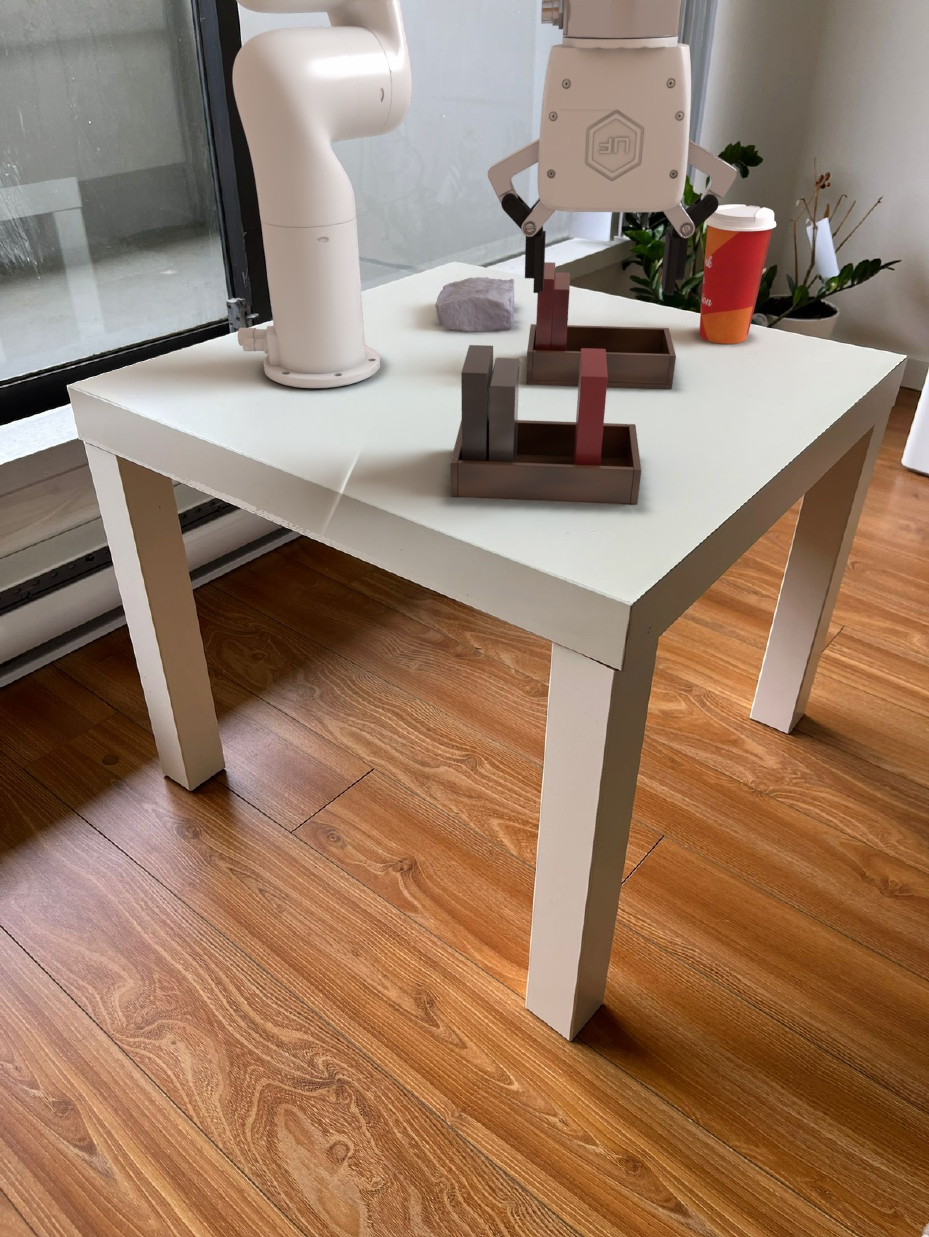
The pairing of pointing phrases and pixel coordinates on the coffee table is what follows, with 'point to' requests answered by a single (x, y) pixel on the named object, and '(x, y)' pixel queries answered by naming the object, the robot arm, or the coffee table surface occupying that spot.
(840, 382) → the coffee table surface
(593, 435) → the burgundy book
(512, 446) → the brown crate
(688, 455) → the coffee table surface
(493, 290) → the stone block
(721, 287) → the paper cup
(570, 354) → the brown open box
